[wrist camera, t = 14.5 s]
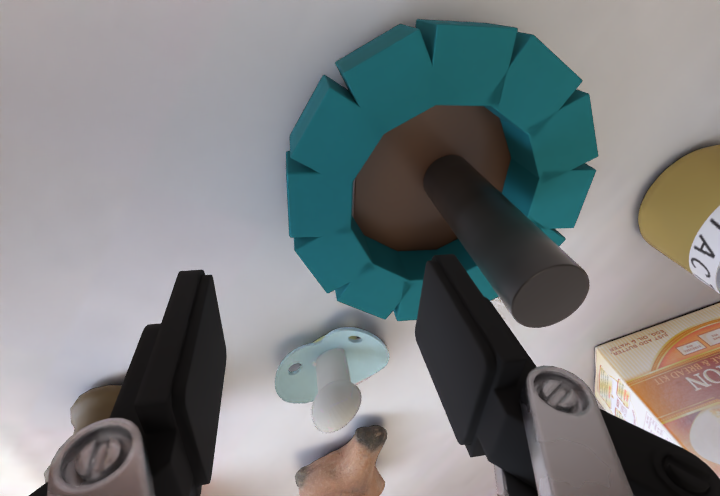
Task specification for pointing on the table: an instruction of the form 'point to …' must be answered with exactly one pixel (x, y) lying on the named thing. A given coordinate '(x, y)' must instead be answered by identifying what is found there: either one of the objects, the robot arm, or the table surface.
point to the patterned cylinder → (687, 214)
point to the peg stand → (465, 209)
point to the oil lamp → (346, 468)
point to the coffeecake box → (668, 381)
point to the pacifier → (331, 374)
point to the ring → (407, 100)
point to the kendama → (92, 408)
